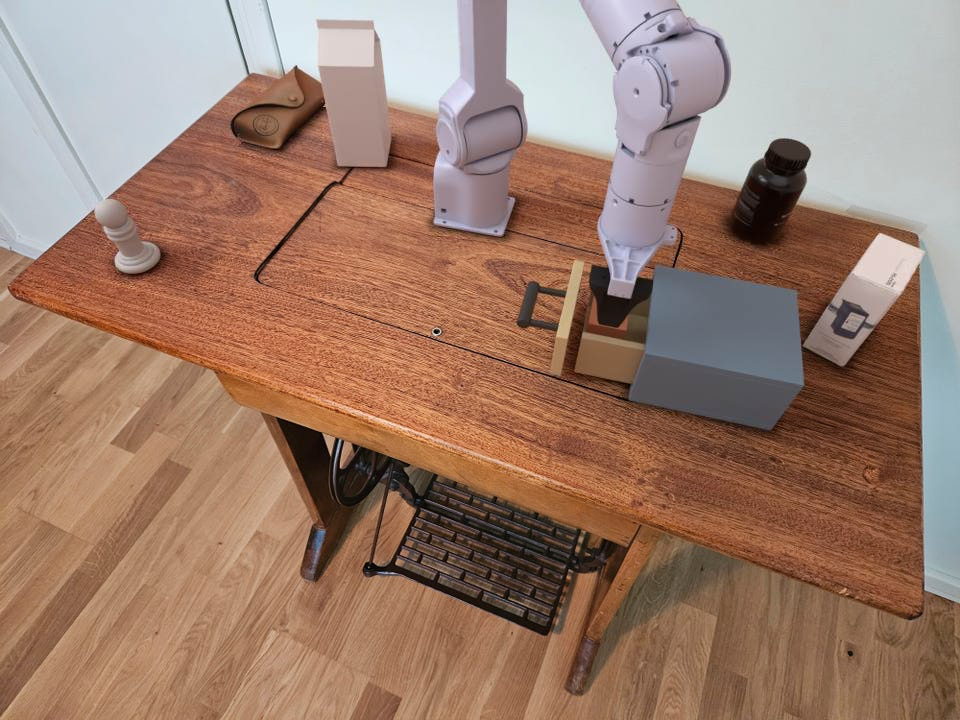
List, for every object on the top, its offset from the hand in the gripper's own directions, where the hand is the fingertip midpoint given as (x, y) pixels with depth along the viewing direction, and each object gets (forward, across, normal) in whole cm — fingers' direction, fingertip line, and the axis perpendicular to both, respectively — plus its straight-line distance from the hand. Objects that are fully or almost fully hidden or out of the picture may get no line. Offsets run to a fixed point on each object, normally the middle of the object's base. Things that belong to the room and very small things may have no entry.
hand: (613, 296), depth 63 cm
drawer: (+8, 0, 0) cm, 8 cm away
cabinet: (+8, 0, -11) cm, 14 cm away
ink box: (+9, +9, -26) cm, 29 cm away
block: (+6, 0, 0) cm, 7 cm away
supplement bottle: (+9, +26, -17) cm, 32 cm away
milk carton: (+9, +28, +39) cm, 49 cm away
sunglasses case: (+9, +34, +54) cm, 65 cm away
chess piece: (+9, -1, +58) cm, 58 cm away
